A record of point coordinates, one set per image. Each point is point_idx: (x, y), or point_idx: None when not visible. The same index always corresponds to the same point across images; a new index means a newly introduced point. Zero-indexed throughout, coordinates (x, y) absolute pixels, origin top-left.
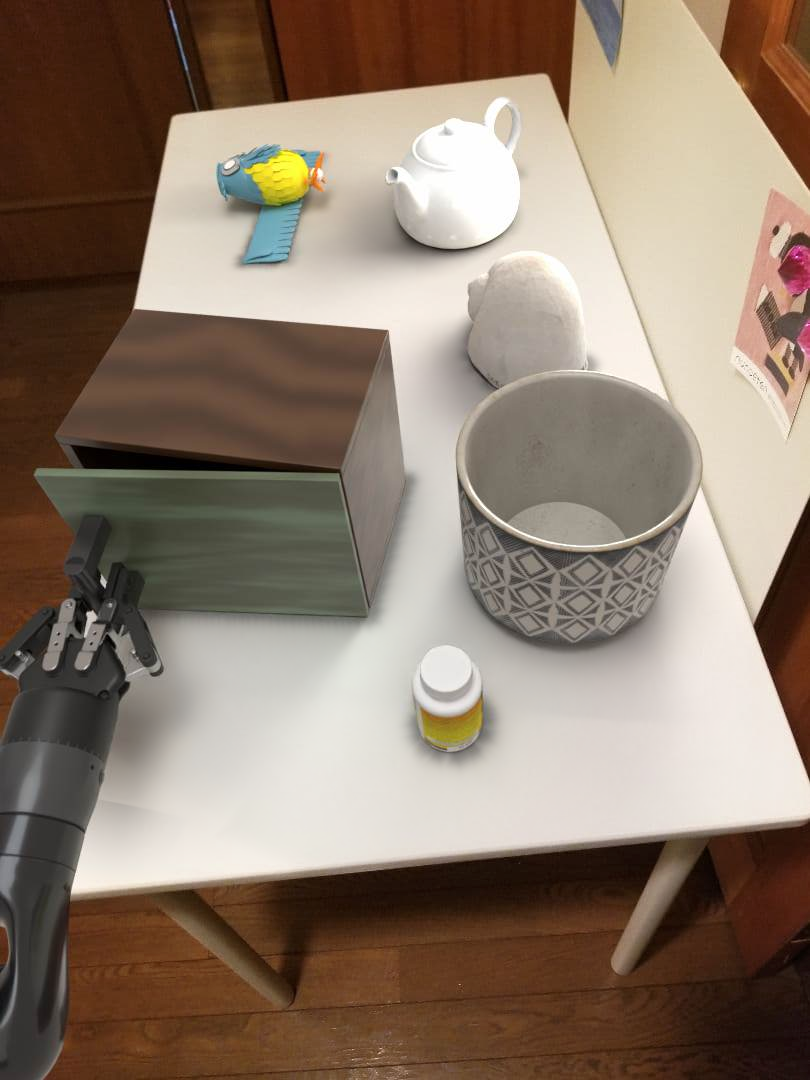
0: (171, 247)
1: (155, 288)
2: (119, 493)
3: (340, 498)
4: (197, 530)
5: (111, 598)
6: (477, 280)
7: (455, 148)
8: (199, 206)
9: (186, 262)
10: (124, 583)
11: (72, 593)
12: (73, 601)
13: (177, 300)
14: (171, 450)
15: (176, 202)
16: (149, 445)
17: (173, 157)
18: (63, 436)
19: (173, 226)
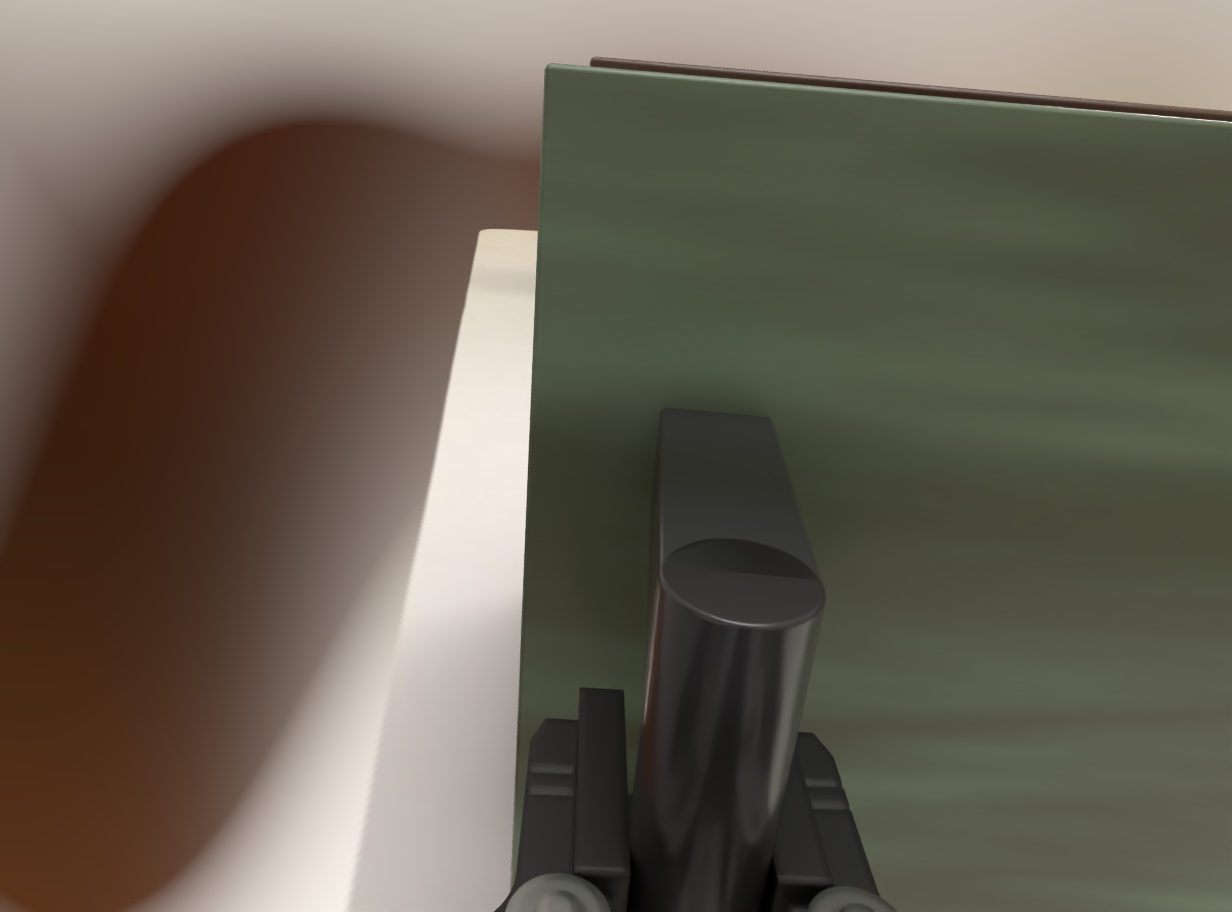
0: (492, 310)
1: (473, 342)
2: (967, 248)
3: None
4: (1198, 556)
5: (852, 892)
6: None
7: None
8: (528, 285)
9: (522, 325)
10: (847, 809)
11: (540, 846)
12: (588, 895)
13: (517, 357)
14: (1192, 118)
15: (490, 278)
16: (1073, 98)
17: (476, 249)
18: (634, 64)
19: (491, 295)
